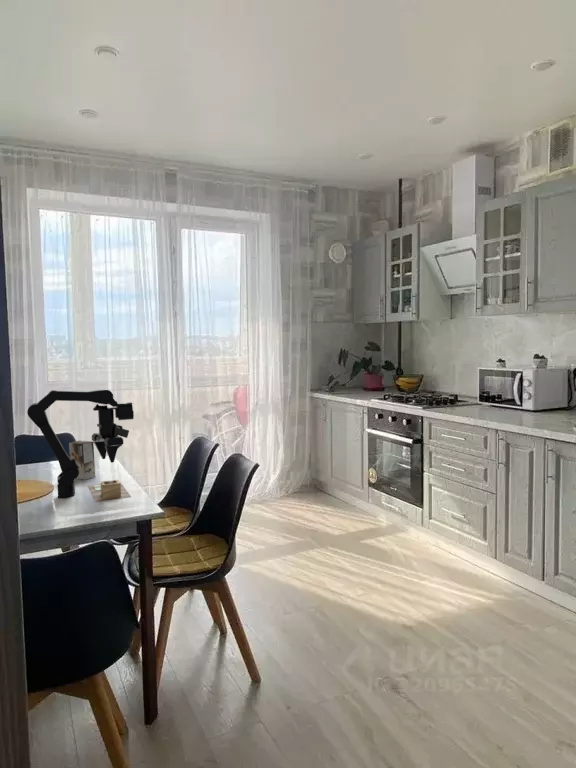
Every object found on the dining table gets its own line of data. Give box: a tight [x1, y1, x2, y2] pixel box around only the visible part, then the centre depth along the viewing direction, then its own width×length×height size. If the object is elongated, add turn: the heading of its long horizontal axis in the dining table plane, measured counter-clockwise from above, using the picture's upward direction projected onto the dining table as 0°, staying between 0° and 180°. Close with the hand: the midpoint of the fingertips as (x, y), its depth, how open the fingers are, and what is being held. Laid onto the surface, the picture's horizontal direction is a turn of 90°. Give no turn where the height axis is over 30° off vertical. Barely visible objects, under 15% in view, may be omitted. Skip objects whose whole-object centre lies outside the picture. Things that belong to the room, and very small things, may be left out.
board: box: [87, 480, 132, 503], centre depth 224 cm, size 28×13×6 cm, turn 25°
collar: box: [100, 479, 122, 498], centre depth 218 cm, size 6×6×5 cm
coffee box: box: [68, 440, 96, 481], centre depth 254 cm, size 9×6×16 cm
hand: (108, 460), depth 224 cm, fingers open, 9 cm apart
